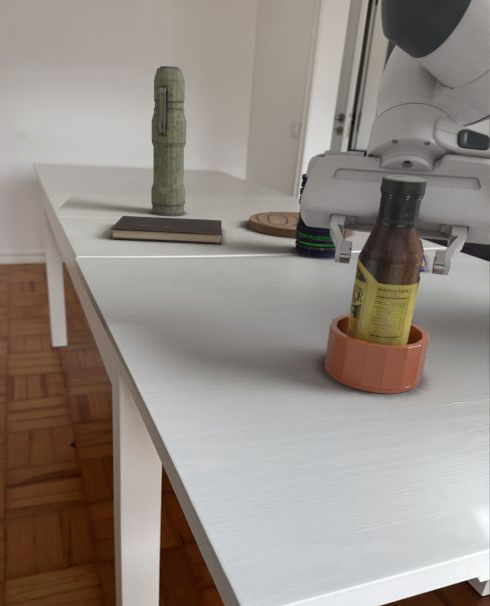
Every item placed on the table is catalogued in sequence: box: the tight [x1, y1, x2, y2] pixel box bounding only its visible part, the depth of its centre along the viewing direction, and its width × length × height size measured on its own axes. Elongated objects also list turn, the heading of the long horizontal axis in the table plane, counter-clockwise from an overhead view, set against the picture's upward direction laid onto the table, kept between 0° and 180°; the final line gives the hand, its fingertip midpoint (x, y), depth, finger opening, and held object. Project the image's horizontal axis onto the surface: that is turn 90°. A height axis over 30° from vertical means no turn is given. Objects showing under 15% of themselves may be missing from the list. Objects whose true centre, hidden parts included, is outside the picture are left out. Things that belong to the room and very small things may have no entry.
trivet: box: [248, 211, 352, 239], centre depth 135 cm, size 25×25×2 cm
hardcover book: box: [110, 215, 223, 245], centre depth 121 cm, size 16×23×2 cm
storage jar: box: [294, 173, 346, 260], centre depth 109 cm, size 10×10×15 cm
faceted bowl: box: [324, 313, 430, 394], centre depth 59 cm, size 10×10×5 cm
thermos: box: [150, 65, 187, 217], centre depth 141 cm, size 9×12×35 cm
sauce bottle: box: [347, 175, 427, 345], centre depth 55 cm, size 7×6×20 cm
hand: (390, 265), depth 54 cm, fingers open, 8 cm apart
